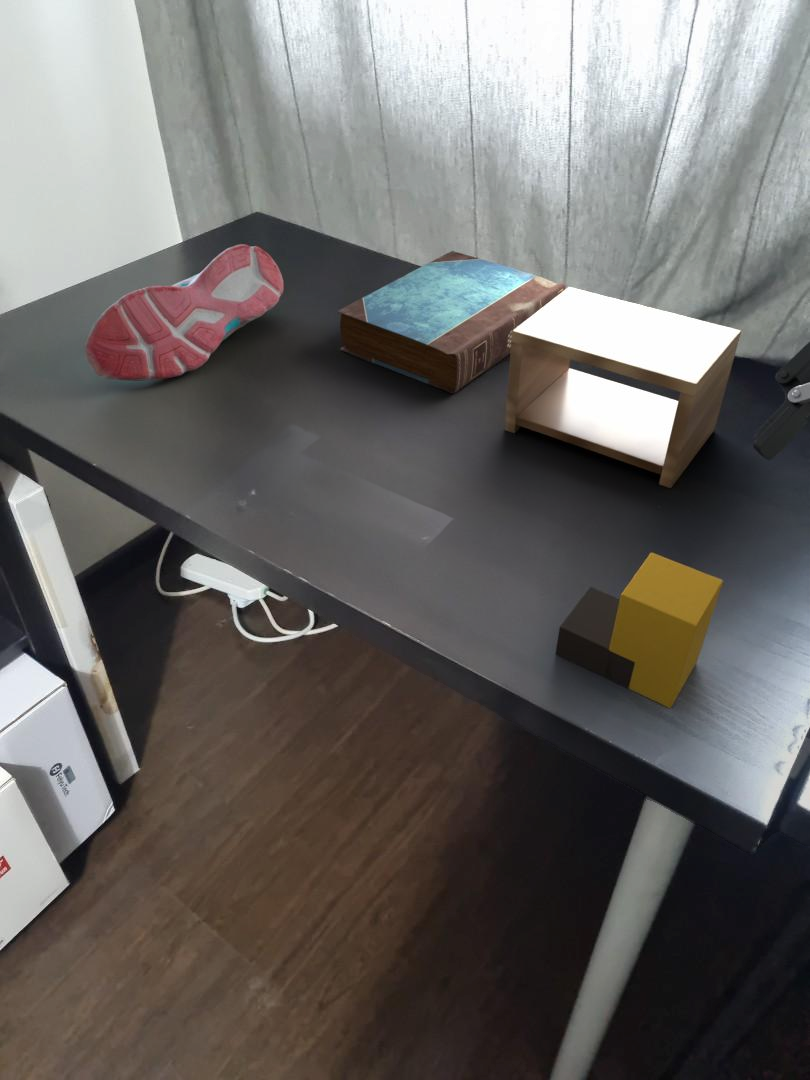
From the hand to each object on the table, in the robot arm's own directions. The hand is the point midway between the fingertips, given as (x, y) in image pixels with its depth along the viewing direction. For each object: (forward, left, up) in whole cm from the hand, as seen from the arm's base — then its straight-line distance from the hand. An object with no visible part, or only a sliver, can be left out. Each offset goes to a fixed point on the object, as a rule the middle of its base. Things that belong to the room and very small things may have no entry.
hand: (806, 486), depth 55 cm
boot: (+7, +9, -14) cm, 18 cm away
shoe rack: (+21, -19, -14) cm, 32 cm away
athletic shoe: (+70, -8, -14) cm, 72 cm away
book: (+46, -28, -14) cm, 56 cm away
